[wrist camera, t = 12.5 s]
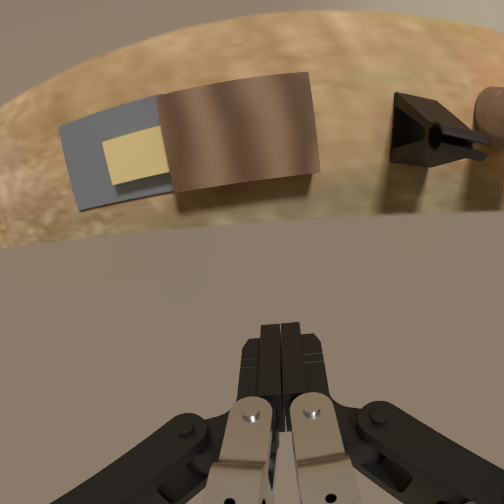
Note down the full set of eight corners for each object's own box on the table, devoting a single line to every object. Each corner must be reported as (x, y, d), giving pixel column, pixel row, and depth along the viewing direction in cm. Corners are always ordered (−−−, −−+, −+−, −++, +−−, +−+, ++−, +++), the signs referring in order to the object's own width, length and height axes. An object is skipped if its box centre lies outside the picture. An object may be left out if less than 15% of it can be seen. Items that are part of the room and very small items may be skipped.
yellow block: (168, 123, 34) (163, 124, 32) (177, 167, 37) (173, 171, 35) (108, 140, 35) (101, 142, 33) (118, 181, 37) (112, 185, 35)
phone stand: (394, 91, 32) (445, 90, 21) (434, 100, 32) (492, 105, 21) (389, 161, 36) (436, 186, 25) (428, 167, 36) (481, 193, 25)
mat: (161, 94, 33) (160, 94, 33) (179, 189, 38) (178, 189, 38) (60, 126, 34) (58, 127, 34) (80, 209, 39) (78, 210, 39)
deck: (302, 75, 32) (308, 71, 28) (314, 166, 37) (320, 172, 33) (165, 97, 33) (155, 96, 30) (182, 184, 38) (174, 193, 34)
